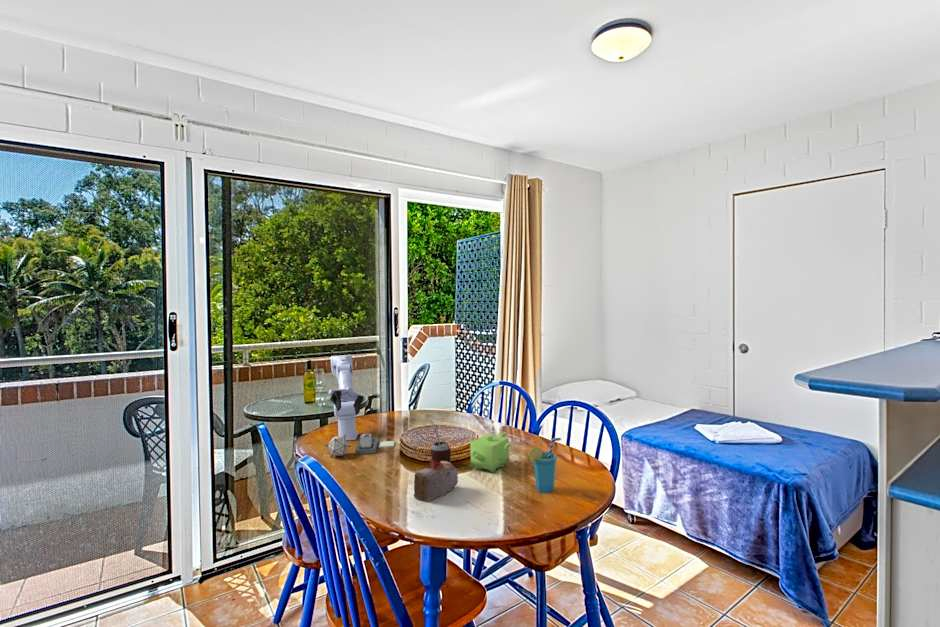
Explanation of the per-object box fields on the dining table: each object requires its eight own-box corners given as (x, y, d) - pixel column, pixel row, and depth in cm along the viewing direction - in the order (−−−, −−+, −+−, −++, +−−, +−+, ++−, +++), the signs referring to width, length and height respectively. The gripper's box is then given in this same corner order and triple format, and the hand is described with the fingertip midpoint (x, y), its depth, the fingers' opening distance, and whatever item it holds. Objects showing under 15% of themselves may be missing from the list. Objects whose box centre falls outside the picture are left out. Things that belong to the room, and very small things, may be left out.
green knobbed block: (505, 458, 181) (505, 427, 180) (517, 472, 167) (516, 439, 166) (465, 462, 178) (464, 431, 177) (473, 477, 164) (472, 444, 163)
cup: (551, 478, 160) (550, 433, 159) (571, 485, 154) (570, 438, 153) (522, 492, 151) (521, 443, 150) (542, 499, 145) (541, 449, 144)
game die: (339, 467, 187) (331, 452, 180) (325, 455, 191) (318, 440, 185) (357, 451, 192) (350, 435, 185) (344, 440, 196) (337, 424, 190)
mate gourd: (448, 470, 171) (446, 427, 170) (426, 469, 172) (424, 426, 171) (453, 462, 178) (451, 421, 177) (432, 461, 180) (430, 420, 179)
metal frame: (360, 442, 204) (359, 438, 204) (378, 441, 205) (378, 437, 205) (355, 454, 189) (355, 450, 189) (375, 453, 190) (375, 449, 190)
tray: (379, 443, 203) (379, 441, 203) (394, 442, 203) (394, 440, 203) (378, 447, 197) (378, 446, 197) (393, 446, 197) (393, 445, 197)
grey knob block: (362, 449, 196) (361, 432, 195) (372, 448, 196) (371, 432, 196) (360, 452, 192) (360, 436, 191) (371, 452, 192) (370, 435, 192)
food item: (441, 483, 160) (440, 453, 159) (460, 488, 155) (459, 457, 154) (411, 498, 149) (410, 466, 149) (431, 504, 144) (430, 471, 144)
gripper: (333, 375, 195) (335, 399, 184) (366, 383, 202) (370, 407, 192) (325, 387, 198) (327, 412, 187) (359, 395, 205) (362, 419, 195)
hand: (348, 411), depth 190 cm, fingers open, 7 cm apart
